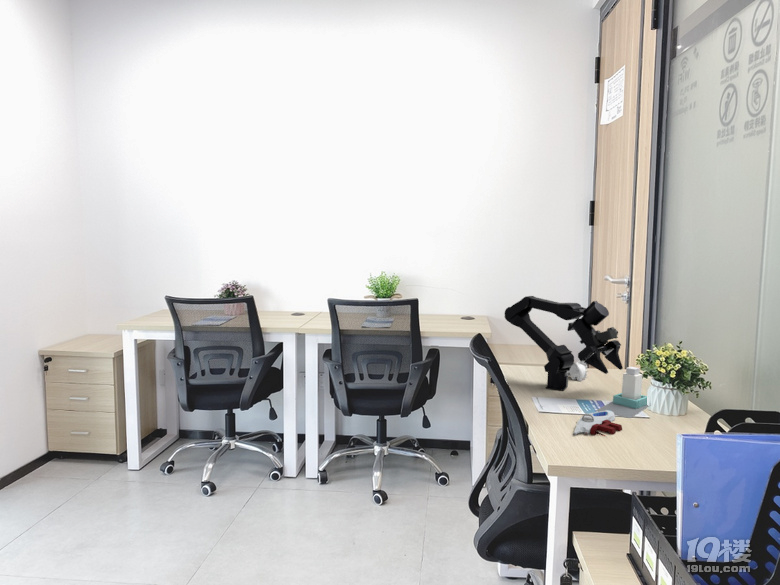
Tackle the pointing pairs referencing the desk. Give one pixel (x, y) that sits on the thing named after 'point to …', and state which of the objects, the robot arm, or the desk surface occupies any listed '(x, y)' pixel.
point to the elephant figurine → (578, 371)
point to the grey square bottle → (632, 383)
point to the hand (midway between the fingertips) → (614, 371)
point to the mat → (622, 410)
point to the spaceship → (592, 421)
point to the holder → (630, 401)
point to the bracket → (605, 427)
